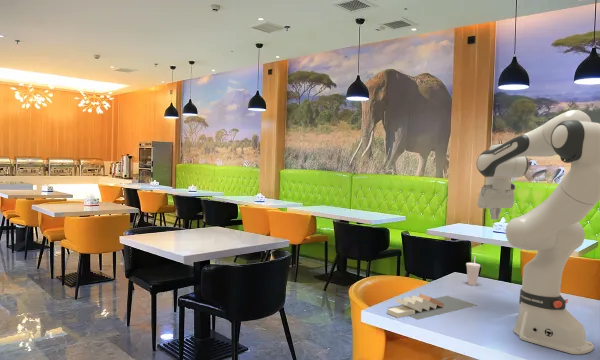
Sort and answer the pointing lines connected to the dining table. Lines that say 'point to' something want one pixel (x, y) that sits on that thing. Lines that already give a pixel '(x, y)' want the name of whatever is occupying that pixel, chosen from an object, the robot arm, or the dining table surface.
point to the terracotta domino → (432, 300)
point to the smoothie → (472, 272)
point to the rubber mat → (448, 306)
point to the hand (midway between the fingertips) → (494, 219)
